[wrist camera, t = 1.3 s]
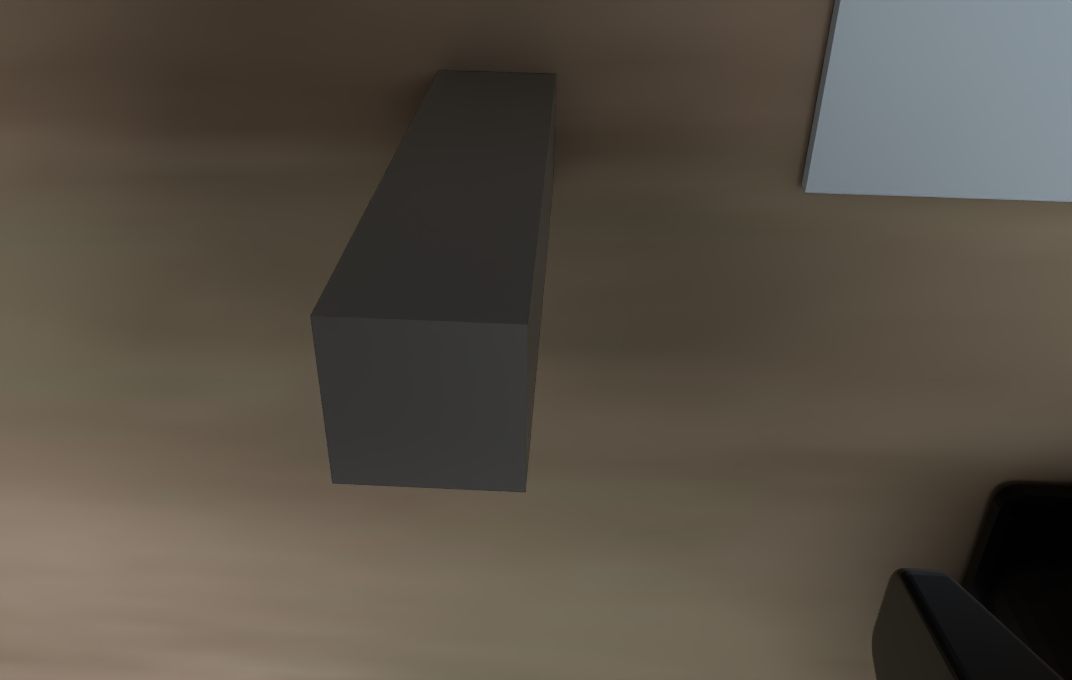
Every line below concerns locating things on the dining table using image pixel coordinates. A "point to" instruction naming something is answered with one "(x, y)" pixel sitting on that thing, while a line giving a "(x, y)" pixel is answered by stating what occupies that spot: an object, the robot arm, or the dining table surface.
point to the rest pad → (945, 100)
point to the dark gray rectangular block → (444, 295)
